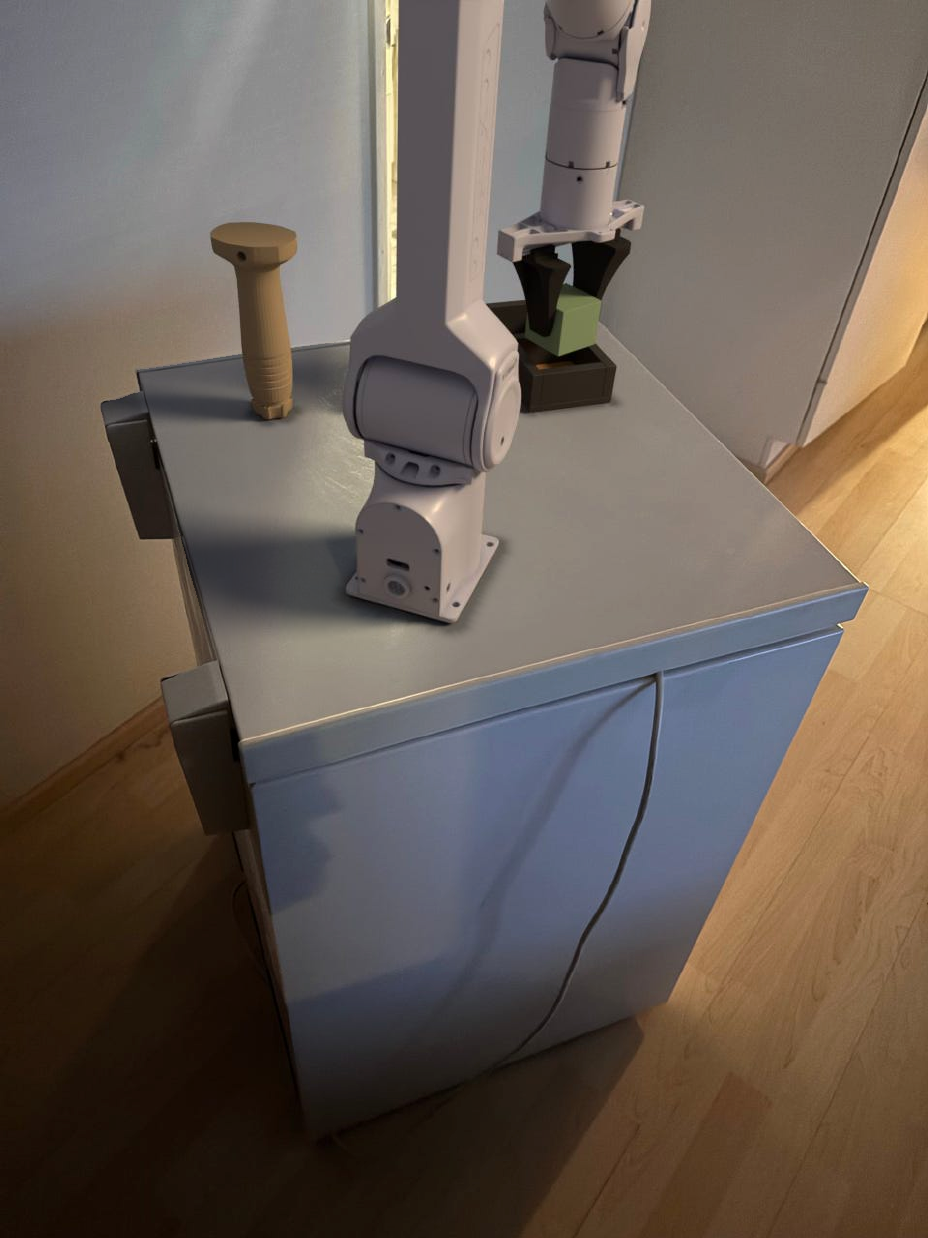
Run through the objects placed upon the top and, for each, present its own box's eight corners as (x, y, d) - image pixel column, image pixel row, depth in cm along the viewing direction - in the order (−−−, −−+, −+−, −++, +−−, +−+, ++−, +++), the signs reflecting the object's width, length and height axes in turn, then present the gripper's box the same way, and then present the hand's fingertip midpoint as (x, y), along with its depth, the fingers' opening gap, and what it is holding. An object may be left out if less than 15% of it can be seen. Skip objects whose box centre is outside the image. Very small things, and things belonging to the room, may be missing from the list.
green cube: (595, 344, 79) (601, 300, 77) (558, 356, 77) (563, 312, 75) (561, 325, 82) (566, 282, 79) (524, 337, 80) (528, 293, 77)
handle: (298, 431, 75) (281, 251, 65) (227, 419, 76) (199, 239, 66) (318, 404, 78) (305, 228, 68) (250, 393, 79) (227, 218, 69)
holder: (529, 412, 79) (532, 375, 77) (475, 338, 89) (477, 303, 87) (610, 402, 81) (617, 365, 79) (548, 331, 91) (552, 296, 89)
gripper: (546, 188, 64) (528, 364, 73) (682, 158, 71) (650, 323, 80) (484, 161, 68) (475, 331, 77) (619, 136, 75) (595, 295, 84)
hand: (561, 325), depth 79 cm, fingers closed on green cube, 4 cm apart
